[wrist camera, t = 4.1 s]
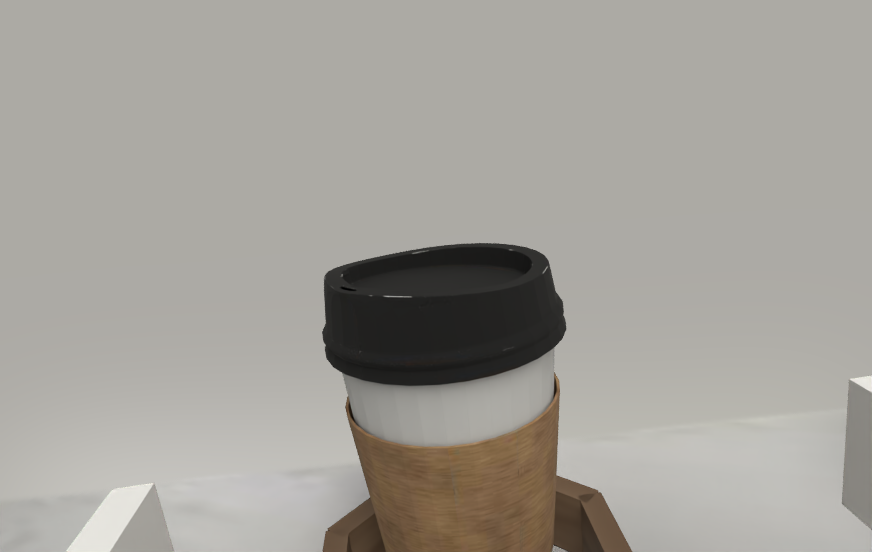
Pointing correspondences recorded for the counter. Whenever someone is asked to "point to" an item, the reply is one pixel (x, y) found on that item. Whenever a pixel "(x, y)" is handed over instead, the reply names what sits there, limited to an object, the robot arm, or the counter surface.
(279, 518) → the counter surface
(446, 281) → the coffee cup
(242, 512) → the counter surface
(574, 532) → the cup cradle
